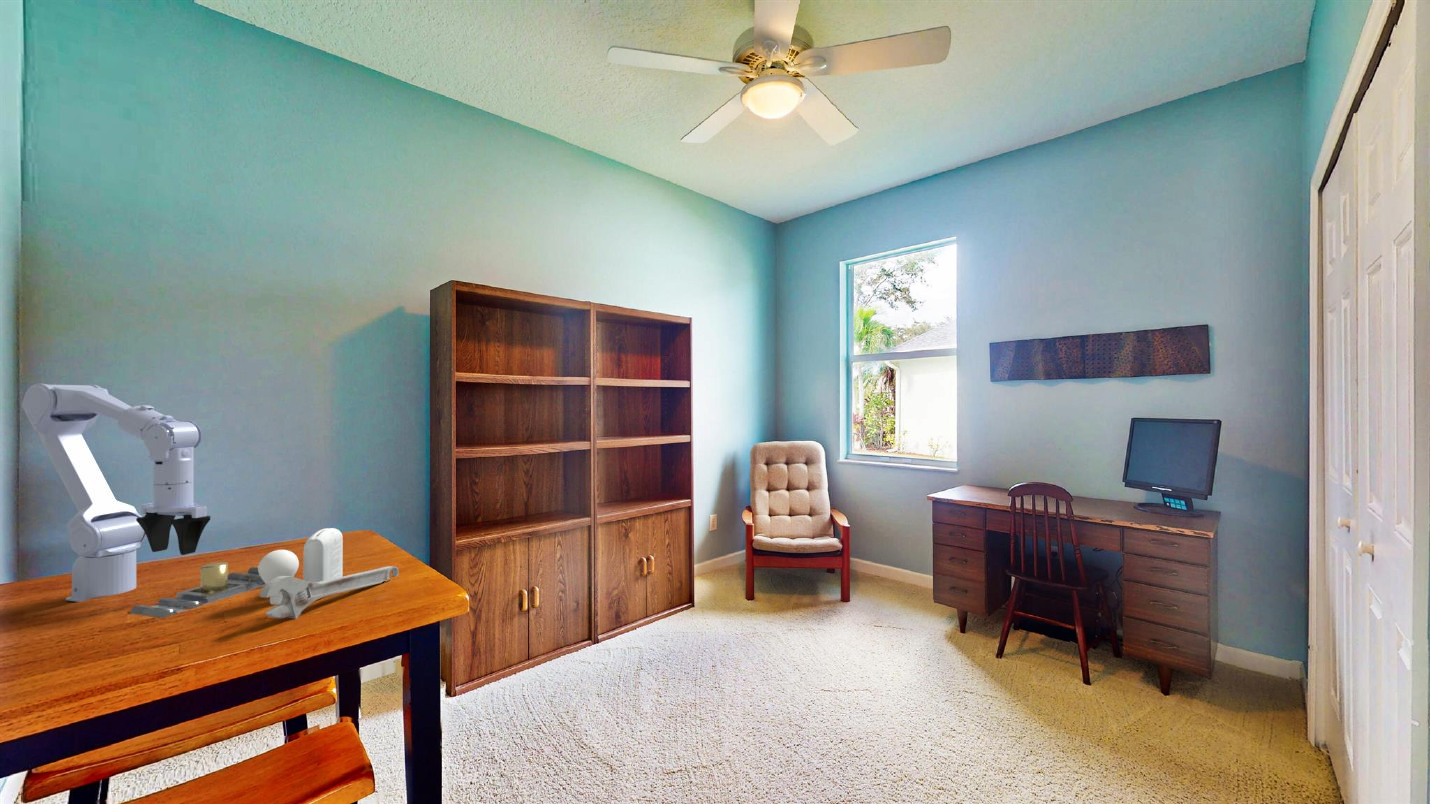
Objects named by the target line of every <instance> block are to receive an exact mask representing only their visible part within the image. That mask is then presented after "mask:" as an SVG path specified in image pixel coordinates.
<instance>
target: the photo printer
mask: <svg viewBox="0 0 1430 804" xmlns="http://www.w3.org/2000/svg"><path fill="white" fill-rule="evenodd" d="M343 538H344V536H343V534H342V532H341V531H340V530H339V529H337V528H335V527H332V528H331V527H329V528H328V527H327V528H322V529H319V530H317V531H316V532H315V533H313V534H312V535H311V536H310V537H308V539H307V540H306V542H305V543H304V545H303V569H302V570H303V571H302V575H303V576H302V577H303V578H302V580H304V581H307V582H314V583H316V582H321V581H325V580H330V579H334V578H338V577H343V574H344V573H343V572H344V571H343V568H344V567H343V565H344V563H343V561H344V559H343V558H344V556H343V553H344V552H343V551H344V549H343V548H344V547H343V546H344V545H343V543H344V540H343Z"/></svg>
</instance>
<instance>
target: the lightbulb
mask: <svg viewBox="0 0 1430 804" xmlns="http://www.w3.org/2000/svg"><path fill="white" fill-rule="evenodd" d="M299 565H300V561H299V559H298V556H297V555H296V554H295V553H294V552H293V551H291V550H287V549H275V550H273V551H270V552H269V553H267V554H266V555H264V556H263V557H262V559H261V560H260V561H259V563H258V566H257V567H258V572H259V575H260V577H261V578H262V580H263V581H264V582H265V584H266V583H268V582H269V581H270V580H272V579H273V578H276V577H279V576H292V577H295V575H296V573H297V572H298V569H299ZM282 598H283V595H282V592H280V591H277V592H276V593H274V594H273V595H271V596H269V604H270V605H271V606H272V605H274V606H276V605H279V604H281V601H282Z"/></svg>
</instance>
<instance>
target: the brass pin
mask: <svg viewBox="0 0 1430 804" xmlns="http://www.w3.org/2000/svg"><path fill="white" fill-rule="evenodd" d="M228 575H229V562H226V561H220V562H212V563H211V562H210V563H206V564H204V565H201V566H200V586H201V593H205V594H212V593H216V592H219V591H222V590H226V589H228Z"/></svg>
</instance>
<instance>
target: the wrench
mask: <svg viewBox="0 0 1430 804" xmlns="http://www.w3.org/2000/svg"><path fill="white" fill-rule="evenodd" d="M399 574H400V571H399V568H398V567H397V566H392V565H391V566H390V565H389V566H383V567H379V568H374V569H369V570H365V571H362V572H357V573H356V572H355V573H352V574H348V575H344V576H342V577H338V578H334V579H330V580H325V581H321V582H316V583H314V582H307V581H304V580H303V579H300V578H297V577H295V576H294V577H292V576H279V577H276V578H273V579H272V580H270V581H269V582H268V583H266V585H265V586H262V587H261V590H260V592H259V598H266V599H268V598H270V596H271V595H273V594H274V593H276V592H277V591H280V592H282V595H283V598H282V601H281V604H276V605H274V606H273V607H271V608H270V609H269V610H268V611H266V612H265V615H266V617H268V618H271V619H284V618H288V619H298V618H299V617H300V616H301V615H302V612H303V611H304V610H305V609H306V608H308V606H310V605H311V604H312V603H314V602H315V601H317V600H319V599H321V598H325V597H328V596H332V595H336V594H340V593H346V592H349V591H353V590H357V589H361V588H362V589H363V588H366V587H370V586H373V585H377V584H378V585H379V584H383V583H382V582H383V581H387V580H388V579H390V577H395V576H398V577H399Z"/></svg>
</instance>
